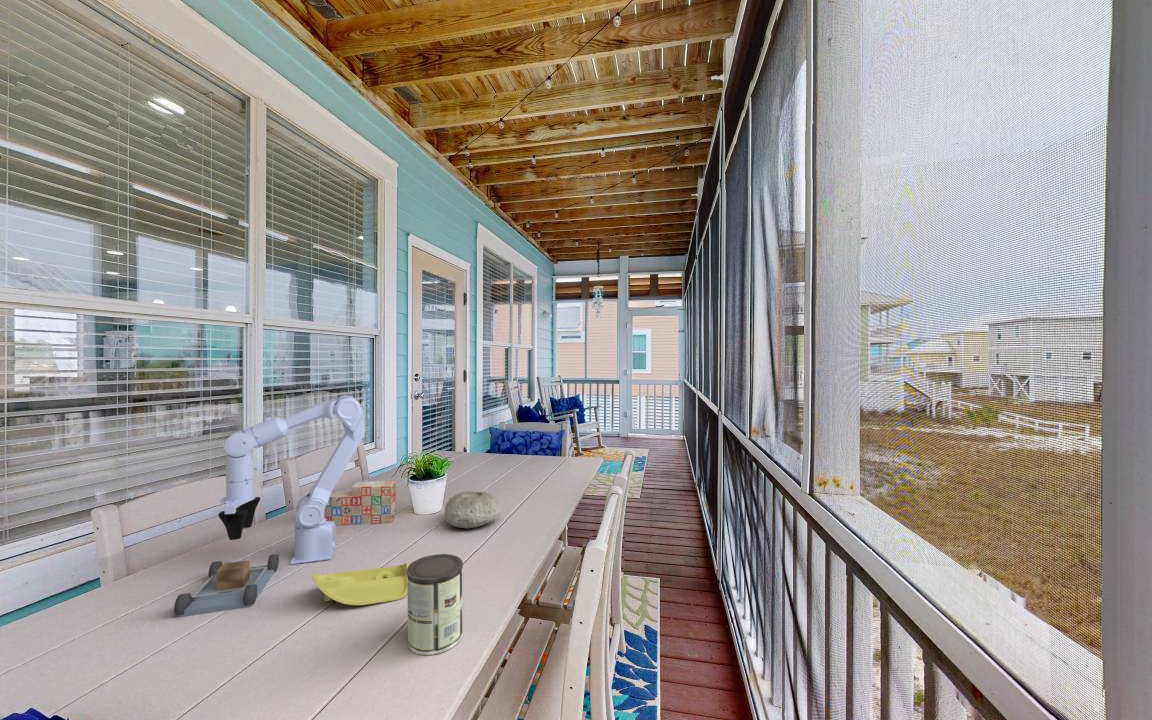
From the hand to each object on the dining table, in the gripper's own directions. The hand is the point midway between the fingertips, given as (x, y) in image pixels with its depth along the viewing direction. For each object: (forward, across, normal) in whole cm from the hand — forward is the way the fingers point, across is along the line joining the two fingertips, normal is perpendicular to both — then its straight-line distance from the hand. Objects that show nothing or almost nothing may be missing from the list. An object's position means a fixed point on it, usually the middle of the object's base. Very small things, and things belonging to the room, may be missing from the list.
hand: (240, 533), depth 113 cm
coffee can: (+10, +45, +45) cm, 64 cm away
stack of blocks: (+10, -27, +24) cm, 38 cm away
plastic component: (+10, +22, +30) cm, 39 cm away
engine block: (+8, +11, +2) cm, 14 cm away
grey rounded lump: (+10, -12, +59) cm, 61 cm away
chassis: (+9, +11, +2) cm, 14 cm away
